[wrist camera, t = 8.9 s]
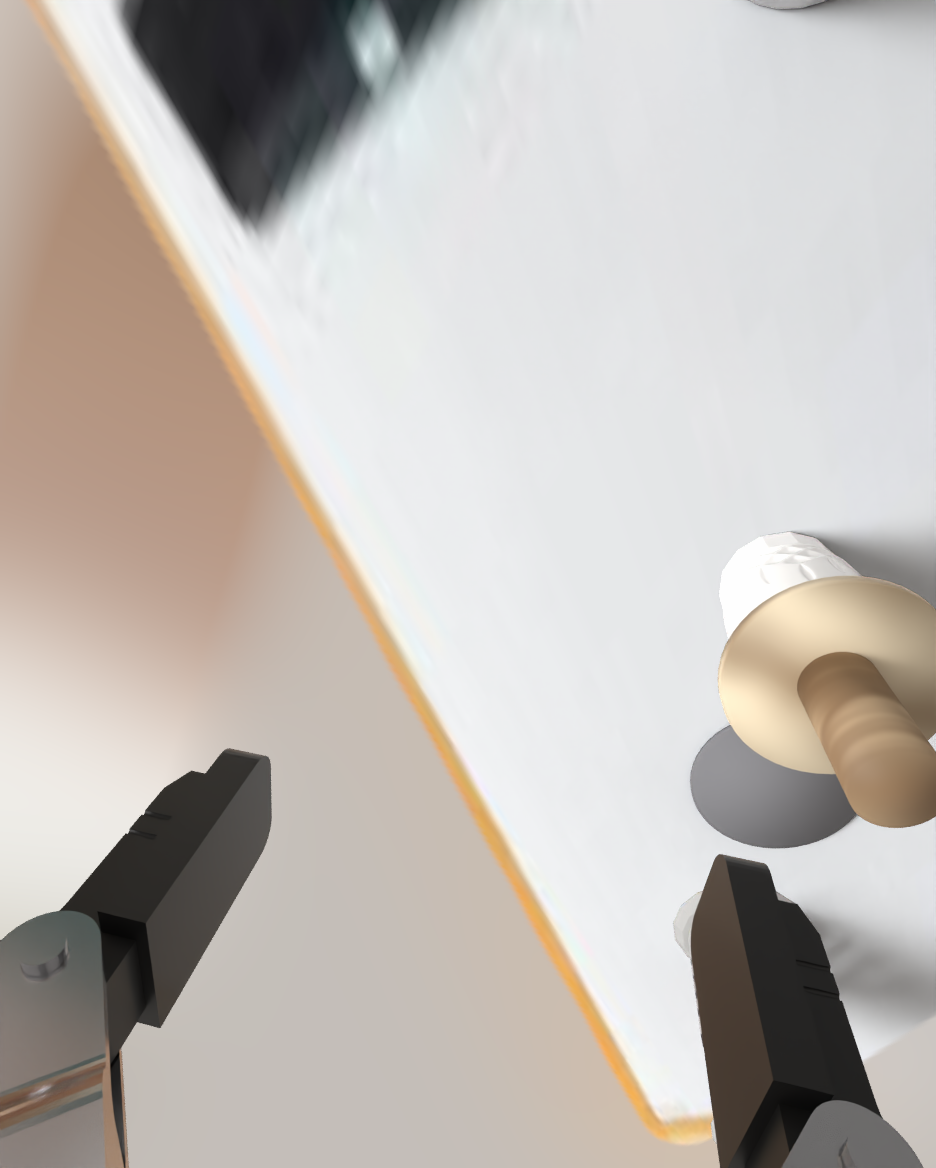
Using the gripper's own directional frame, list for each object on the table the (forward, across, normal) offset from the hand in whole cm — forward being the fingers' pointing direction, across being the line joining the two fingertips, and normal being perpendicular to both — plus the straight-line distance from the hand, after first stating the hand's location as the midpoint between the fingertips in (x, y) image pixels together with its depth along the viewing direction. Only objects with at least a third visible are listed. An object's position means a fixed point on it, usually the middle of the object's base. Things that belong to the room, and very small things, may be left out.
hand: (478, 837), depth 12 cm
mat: (+30, -18, +20) cm, 40 cm away
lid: (+20, -14, +6) cm, 25 cm away
